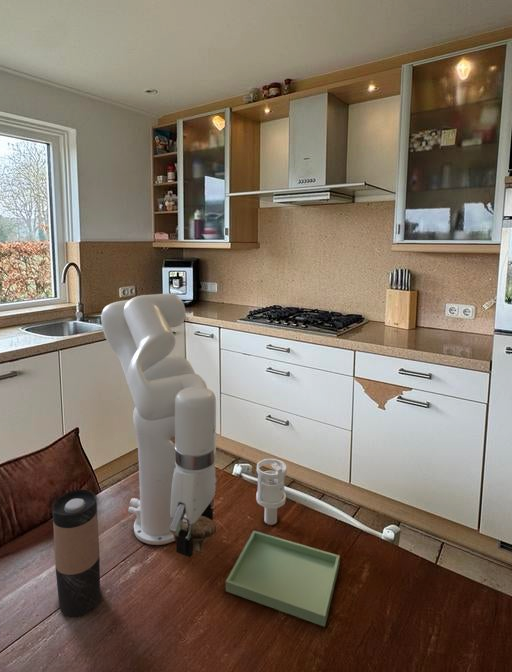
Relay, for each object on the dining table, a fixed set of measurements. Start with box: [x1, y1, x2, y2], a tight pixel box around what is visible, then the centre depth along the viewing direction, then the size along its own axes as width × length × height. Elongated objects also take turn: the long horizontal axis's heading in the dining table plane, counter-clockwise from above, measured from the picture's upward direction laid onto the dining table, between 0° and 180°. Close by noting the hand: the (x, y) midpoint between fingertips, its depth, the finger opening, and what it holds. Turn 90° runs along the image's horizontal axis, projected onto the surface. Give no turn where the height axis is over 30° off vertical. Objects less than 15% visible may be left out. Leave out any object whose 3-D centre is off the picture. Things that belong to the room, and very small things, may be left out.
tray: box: [225, 530, 341, 628], centre depth 84 cm, size 19×15×2 cm
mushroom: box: [174, 516, 217, 554], centre depth 81 cm, size 8×8×6 cm
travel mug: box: [52, 489, 101, 618], centre depth 78 cm, size 8×8×20 cm
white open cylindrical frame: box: [255, 458, 288, 526], centre depth 100 cm, size 7×7×15 cm
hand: (195, 538), depth 81 cm, fingers closed on mushroom, 7 cm apart
